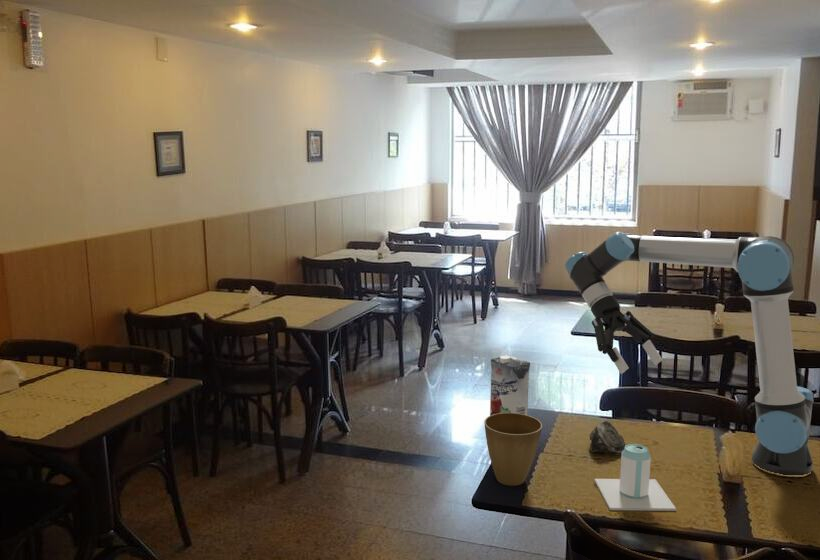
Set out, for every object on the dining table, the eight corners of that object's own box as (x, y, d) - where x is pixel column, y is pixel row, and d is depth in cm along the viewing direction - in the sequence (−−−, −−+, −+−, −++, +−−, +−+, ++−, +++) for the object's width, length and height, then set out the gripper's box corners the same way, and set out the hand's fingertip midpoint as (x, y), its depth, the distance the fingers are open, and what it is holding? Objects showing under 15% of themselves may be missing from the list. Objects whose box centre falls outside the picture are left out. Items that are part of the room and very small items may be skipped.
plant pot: (472, 482, 199) (473, 424, 196) (501, 463, 210) (502, 408, 207) (522, 498, 190) (524, 438, 187) (549, 478, 202) (552, 420, 199)
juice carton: (508, 435, 230) (511, 349, 225) (530, 447, 222) (534, 358, 217) (484, 440, 226) (487, 353, 221) (506, 453, 217) (509, 362, 212)
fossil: (627, 457, 213) (611, 426, 213) (596, 468, 216) (581, 438, 215) (626, 442, 224) (611, 412, 223) (597, 452, 226) (582, 423, 226)
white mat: (655, 481, 200) (655, 479, 200) (675, 510, 184) (675, 508, 184) (594, 480, 200) (594, 478, 200) (609, 510, 184) (610, 507, 184)
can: (617, 485, 196) (619, 442, 194) (645, 487, 195) (648, 443, 193) (621, 498, 189) (624, 453, 187) (650, 500, 188) (653, 454, 186)
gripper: (623, 304, 221) (663, 366, 212) (562, 315, 208) (601, 381, 198) (639, 289, 216) (680, 352, 207) (577, 299, 202) (618, 367, 193)
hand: (642, 366), depth 202 cm, fingers open, 13 cm apart
